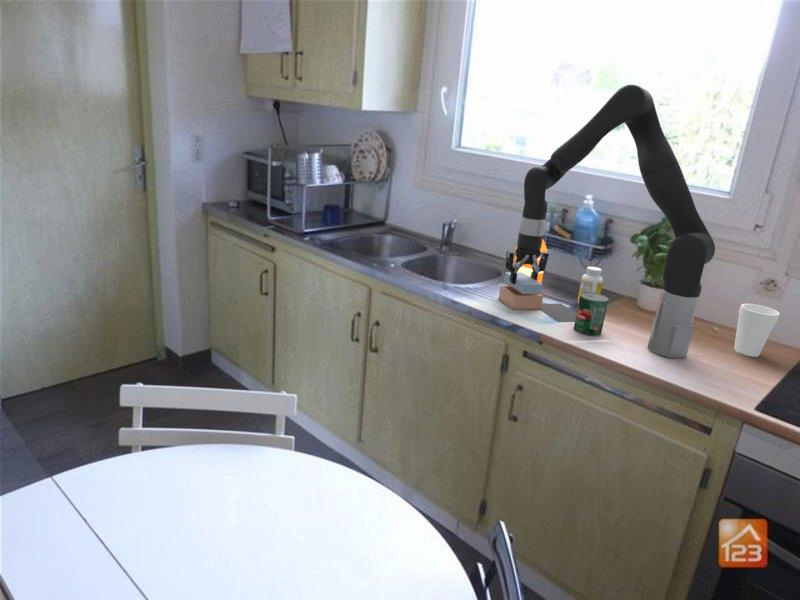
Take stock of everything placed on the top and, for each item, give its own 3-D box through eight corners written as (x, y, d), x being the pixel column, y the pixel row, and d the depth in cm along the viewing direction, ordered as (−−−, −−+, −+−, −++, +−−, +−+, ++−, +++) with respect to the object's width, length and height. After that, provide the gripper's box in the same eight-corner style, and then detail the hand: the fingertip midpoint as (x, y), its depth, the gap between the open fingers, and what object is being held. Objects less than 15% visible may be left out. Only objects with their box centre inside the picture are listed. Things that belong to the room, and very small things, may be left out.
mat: (589, 322, 173) (589, 321, 173) (557, 323, 170) (558, 322, 170) (560, 304, 188) (560, 303, 188) (531, 305, 184) (531, 303, 184)
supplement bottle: (594, 303, 193) (602, 266, 188) (599, 309, 186) (607, 272, 182) (574, 300, 193) (582, 264, 189) (578, 307, 187) (586, 269, 183)
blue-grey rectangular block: (541, 293, 176) (542, 284, 175) (523, 293, 174) (524, 284, 173) (521, 281, 188) (522, 272, 187) (503, 281, 186) (505, 272, 185)
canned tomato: (606, 334, 165) (614, 298, 162) (591, 339, 160) (599, 302, 157) (582, 325, 171) (589, 290, 167) (567, 329, 166) (574, 294, 162)
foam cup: (731, 342, 168) (744, 301, 164) (767, 352, 162) (781, 310, 158) (725, 351, 161) (738, 308, 156) (762, 362, 155) (777, 317, 151)
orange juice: (540, 288, 204) (550, 234, 197) (527, 292, 197) (537, 236, 191) (522, 282, 208) (531, 229, 202) (509, 286, 202) (517, 231, 196)
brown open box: (540, 310, 180) (543, 295, 178) (512, 311, 177) (514, 295, 175) (525, 299, 189) (527, 285, 187) (498, 300, 186) (500, 285, 184)
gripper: (516, 234, 170) (507, 287, 175) (558, 235, 174) (548, 287, 179) (505, 229, 177) (497, 280, 182) (545, 230, 181) (536, 280, 186)
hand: (522, 283), depth 181 cm, fingers closed on blue-grey rectangular block, 6 cm apart
